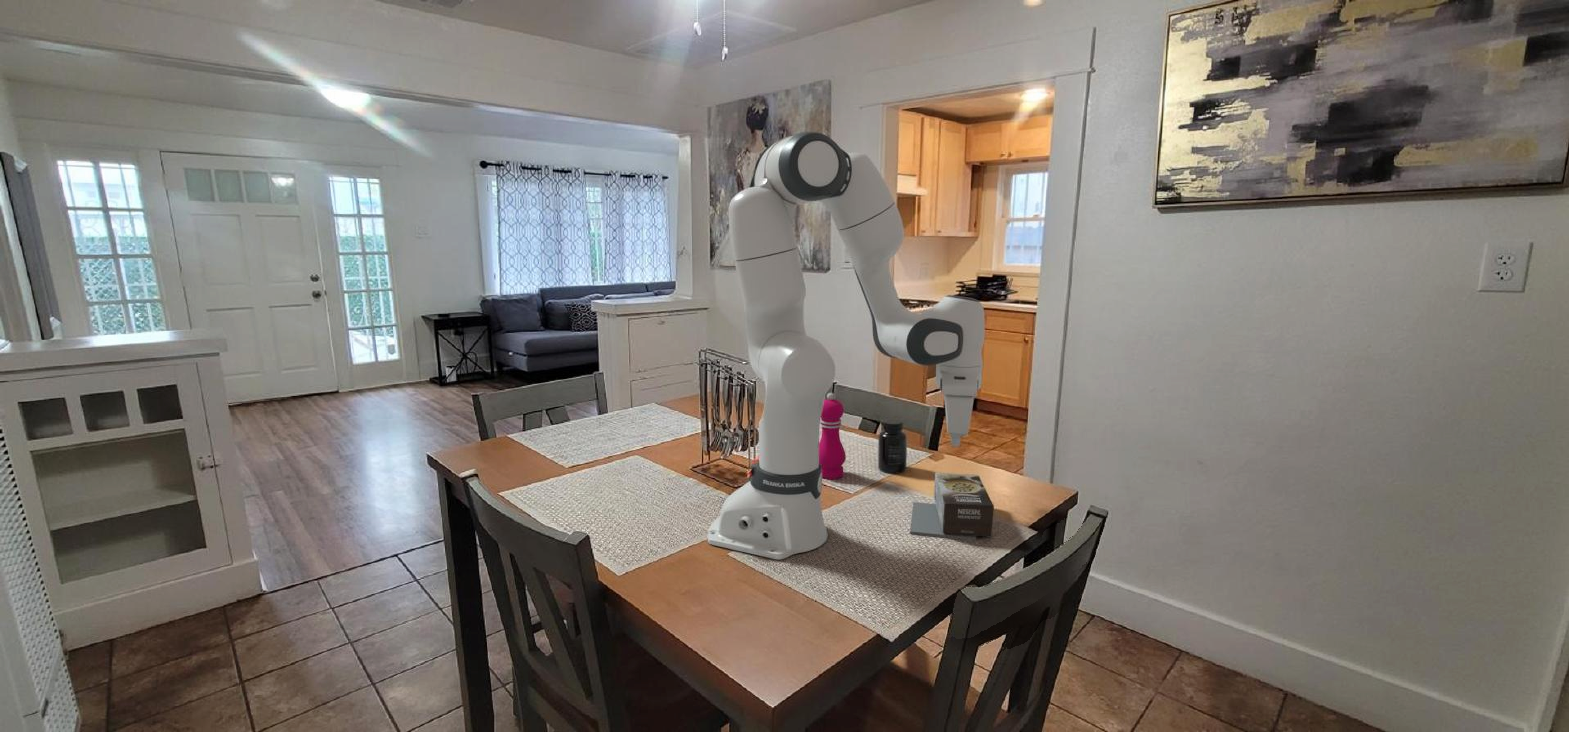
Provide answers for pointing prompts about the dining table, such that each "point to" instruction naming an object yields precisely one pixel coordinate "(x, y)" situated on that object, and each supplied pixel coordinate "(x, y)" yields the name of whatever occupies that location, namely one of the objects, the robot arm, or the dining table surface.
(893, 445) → the supplement bottle
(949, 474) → the coffee box
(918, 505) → the mat
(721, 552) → the dining table surface
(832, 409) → the pepper mill
